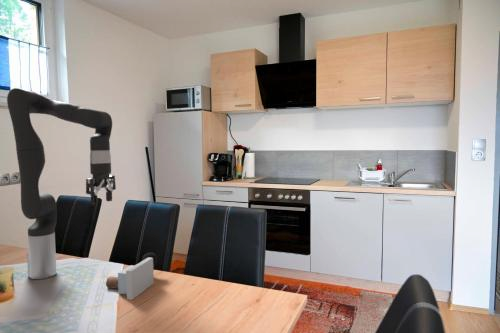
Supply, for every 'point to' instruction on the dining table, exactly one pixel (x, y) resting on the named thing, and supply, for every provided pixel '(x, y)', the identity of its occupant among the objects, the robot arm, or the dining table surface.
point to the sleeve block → (123, 281)
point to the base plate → (139, 278)
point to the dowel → (112, 282)
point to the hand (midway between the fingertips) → (102, 202)
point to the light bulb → (151, 255)
